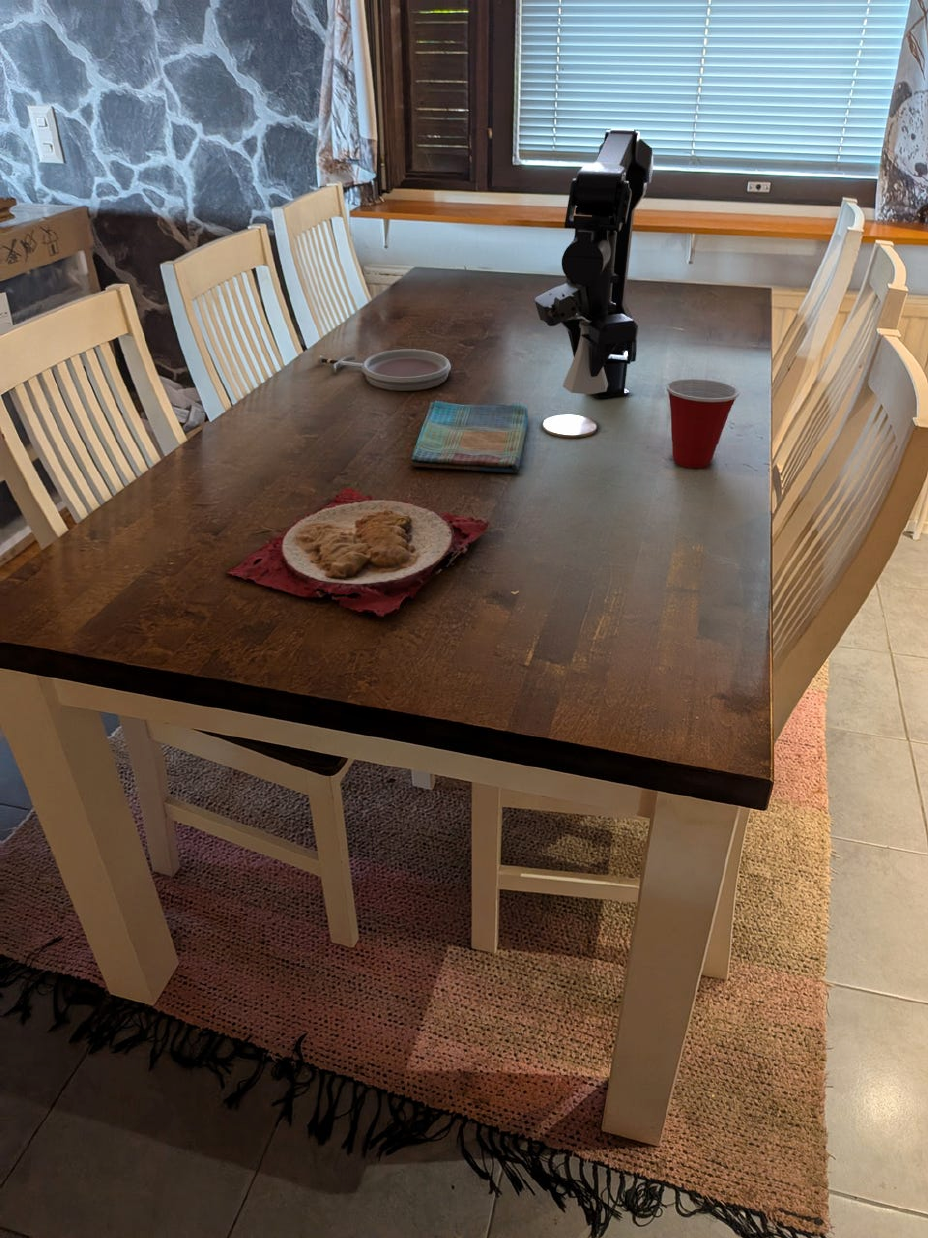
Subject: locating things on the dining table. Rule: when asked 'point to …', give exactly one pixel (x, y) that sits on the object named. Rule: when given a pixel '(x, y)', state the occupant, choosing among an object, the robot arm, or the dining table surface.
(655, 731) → the dining table surface
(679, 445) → the plastic cup
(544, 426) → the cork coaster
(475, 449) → the dish towel
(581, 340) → the flask
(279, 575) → the plate with food
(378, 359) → the frying pan
